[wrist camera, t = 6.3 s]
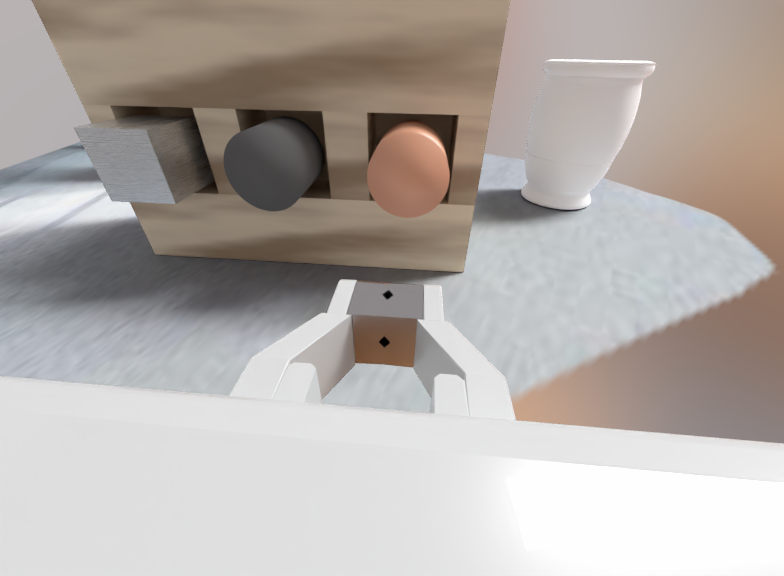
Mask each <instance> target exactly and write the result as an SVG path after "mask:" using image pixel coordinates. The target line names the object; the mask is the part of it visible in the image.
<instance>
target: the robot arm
mask: <svg viewBox="0 0 784 576" xmlns="http://www.w3.org/2000/svg"><path fill="white" fill-rule="evenodd" d="M355 363H366V364H385V365H394V366H404V367H413V369H414V371H415V372H416V374H417V376H418V377H419V379H420V381H421V382H422V384H423V386H424V387H425V389H426V391H427V392H428V394H429V396H430V397H431V405H430V411H429V413H424V412H412V411H401V410H389V409H378V408H366V407H355V406H343V405H332V404H322V399H323V398H324V397H325V396H326V395H327V394H328V393H329V392H330V391H331V390H332V389H333V388H334V387H335V385H336V384H337V383H338V382H339V381H340V380H341V379H342V378H343V377H344V376H345V375H346V374H347V373H348V372H349V371H350V370H351V369H352V368H353V366H354V365H355ZM0 576H784V444H782V443H770V442H759V441H746V440H735V439H724V438H713V437H701V436H690V435H678V434H665V433H655V432H643V431H632V430H620V429H608V428H597V427H585V426H574V425H562V424H550V423H539V422H528V421H516V419H515V415H514V410H513V406H512V402H511V398H510V394H509V390H508V386H507V382H506V378H505V377H504V376H503V375H502V374H501V373H500V372H499V371H498V370H497V369H496V368H495V367H494V366H493V365H492V364H491V363H490V362H489V361H488V360H487V359H486V358H485V357H484V356H483V355H482V354H481V353H480V352H479V351H478V350H477V349H476V348H475V347H474V346H473V345H472V344H471V343H470V342H469V341H468V340H467V339H466V338H465V337H464V336H463V335H462V334H461V333H460V332H459V331H458V330H457V329H456V328H455V327H454V326H453V325H452V324H451V323H450V322H449V321H444V315H443V301H442V287H441V285H416V284H395V283H386V282H374V281H362V280H358V281H357V280H347V279H341V280H340V281H339V282H338V284H337V287H336V289H335V292H334V294H333V297H332V299H331V302H330V304H329V307H328V309H327V312H326V313H320V314H318V315H317V316H315V317H314V318H312V319H311V320H309V321H308V322H306V323H304V324H303V325H301V326H300V327H298V328H297V329H295V330H294V331H292V332H290V333H289V334H287V335H286V336H284V337H283V338H281V339H279V340H278V341H276V342H275V343H273V344H272V345H270V346H269V347H267V348H265V349H264V350H262V351H261V352H259V353H258V354H256V355H255V356H253V357H252V358H251V359H250V361H249V363H248V364H247V366H246V368H245V369H244V371H243V373H242V375H241V376H240V378H239V380H238V381H237V383H236V385H235V387H234V388H233V390H232V392H231V393H230V395H229V396H227V395H215V394H203V393H192V392H181V391H169V390H158V389H146V388H134V387H123V386H111V385H100V384H88V383H77V382H65V381H54V380H42V379H30V378H19V377H7V376H0Z"/></svg>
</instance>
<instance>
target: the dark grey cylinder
mask: <svg viewBox="0 0 784 576" xmlns="http://www.w3.org/2000/svg"><path fill="white" fill-rule="evenodd" d="M223 162H224V169H225V173H226V176H227V178H228V180H229V182H230V184H231V186H232V187H233V189H234V190H235V191H236V192H237V194H238V195H239V196H240V197H241V198H242V199H244V200H245V201H246V202H248V203H249V204H251V205H252V206H254V207H256V208H259V209H262V210H266V211H282V210H285V209H287V208H289V207H291V206H292V205H294V204H295V203H296V202H297V201H298V199H299V198H300V197H301V196H302V195H303V194H304V193H305V192H306V190H307V189H308V188H309V187H310V186H311V185H312V184H313V183H314V181H315V180H316V179H317V178H318V177H319V175H320V174H321V172H322V169H323V165H324V153H323V148H322V145H321V143H320V140H319V139H318V137H317V135H316V134H315V132H314V131H313V130H312V129H311V128H310V127H309V126H308V125H307V124H305V123H304V122H302V121H300V120H298V119H296V118H293V117H288V116H280V117H276V118H273V119H271V120H268V121H266V122H263V123H261V124H258V125H256V126H254V127H251V128H249V129H246V130H244V131H241V132H239V133H237V134H236V135H234V136H233V137H232V138H231V139H230V140H229V142H228V143H227V145H226V148H225V151H224V159H223Z"/></svg>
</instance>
